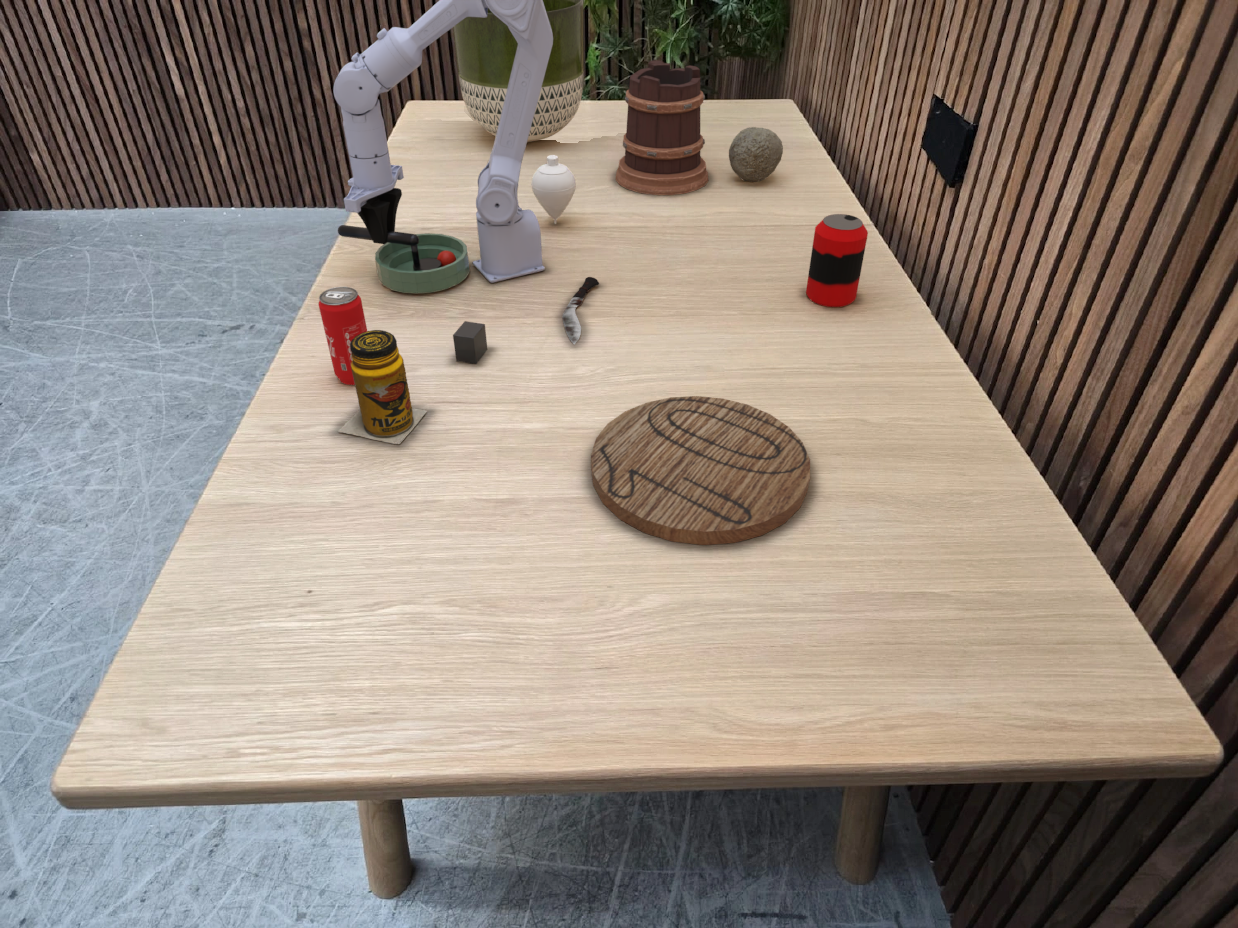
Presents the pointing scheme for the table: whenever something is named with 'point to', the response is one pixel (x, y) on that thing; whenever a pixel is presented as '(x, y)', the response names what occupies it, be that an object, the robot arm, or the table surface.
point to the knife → (569, 314)
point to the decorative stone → (755, 153)
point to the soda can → (836, 260)
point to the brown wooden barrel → (663, 132)
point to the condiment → (380, 390)
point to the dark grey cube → (470, 342)
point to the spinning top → (553, 186)
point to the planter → (490, 60)
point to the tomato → (446, 258)
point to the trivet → (700, 470)
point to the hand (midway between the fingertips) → (383, 239)
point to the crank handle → (397, 239)
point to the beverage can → (342, 327)
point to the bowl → (401, 277)
